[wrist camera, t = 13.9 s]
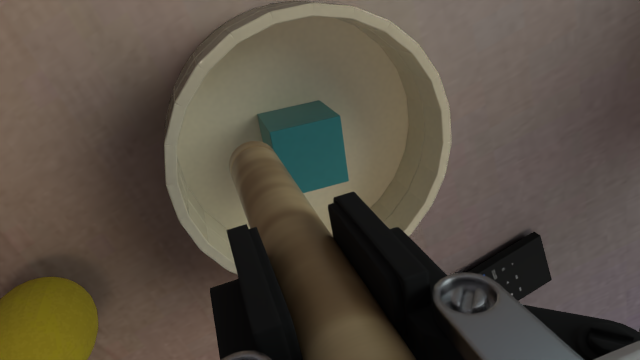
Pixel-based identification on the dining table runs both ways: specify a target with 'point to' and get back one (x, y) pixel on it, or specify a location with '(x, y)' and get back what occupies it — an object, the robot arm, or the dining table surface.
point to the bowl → (298, 88)
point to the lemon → (47, 321)
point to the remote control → (518, 267)
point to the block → (307, 143)
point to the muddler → (311, 266)
